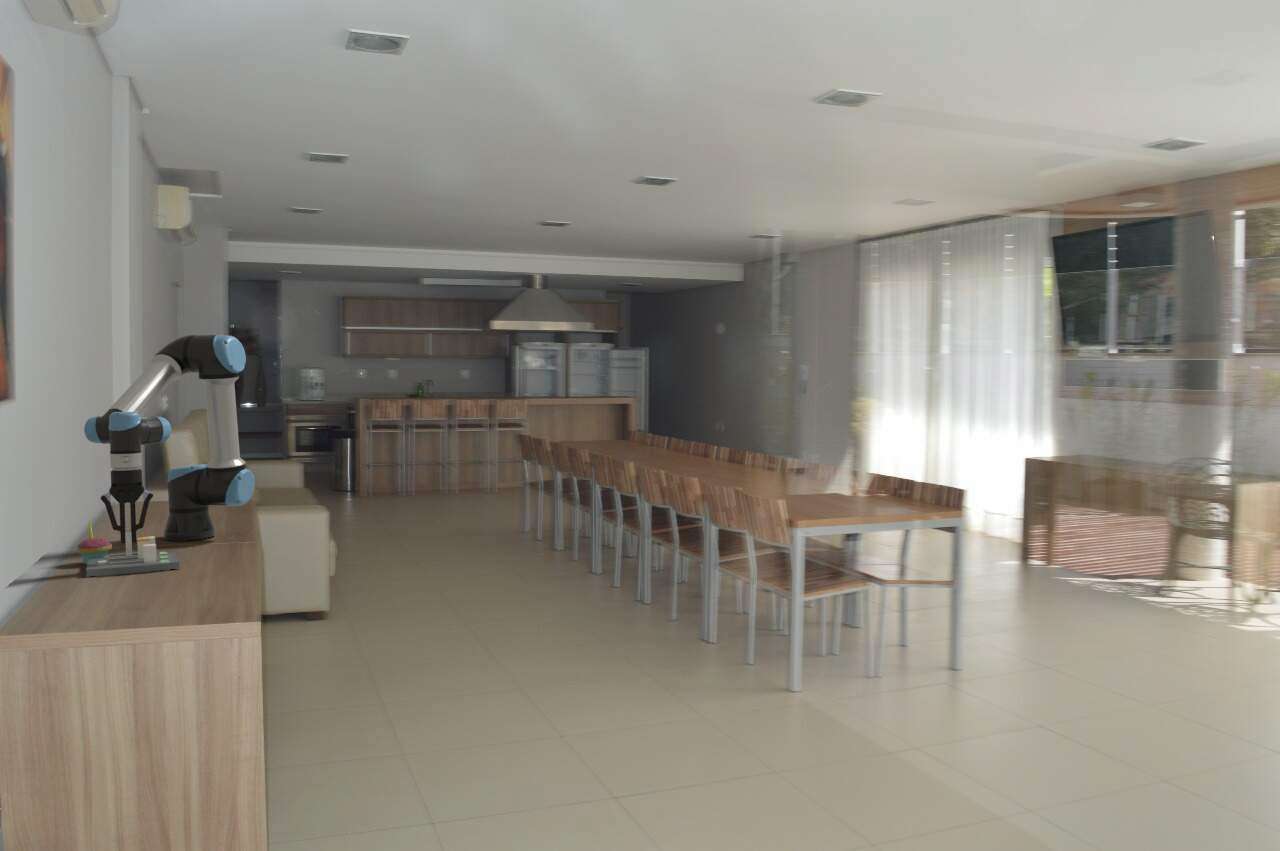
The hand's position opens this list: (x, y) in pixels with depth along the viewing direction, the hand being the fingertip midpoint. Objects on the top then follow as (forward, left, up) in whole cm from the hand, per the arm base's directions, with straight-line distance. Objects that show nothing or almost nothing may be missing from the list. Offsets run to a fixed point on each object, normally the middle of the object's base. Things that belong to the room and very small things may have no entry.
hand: (129, 554), depth 268 cm
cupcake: (-12, -9, -4) cm, 15 cm away
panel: (0, +1, -4) cm, 4 cm away
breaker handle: (0, +4, -1) cm, 4 cm away
